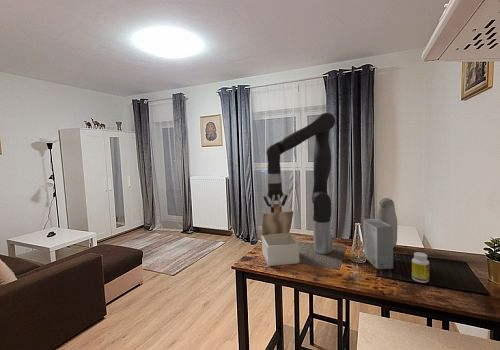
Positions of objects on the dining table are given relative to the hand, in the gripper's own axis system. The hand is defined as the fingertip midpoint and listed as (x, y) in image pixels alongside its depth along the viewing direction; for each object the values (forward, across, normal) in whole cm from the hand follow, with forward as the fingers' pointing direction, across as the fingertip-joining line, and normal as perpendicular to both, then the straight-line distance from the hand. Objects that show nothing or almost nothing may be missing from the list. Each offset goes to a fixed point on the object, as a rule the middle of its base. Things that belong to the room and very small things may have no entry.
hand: (276, 213), depth 142 cm
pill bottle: (+25, -52, +40) cm, 70 cm away
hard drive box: (+24, -45, +20) cm, 55 cm away
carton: (+23, 0, +4) cm, 23 cm away
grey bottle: (+23, -60, +6) cm, 65 cm away
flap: (+6, 0, +1) cm, 6 cm away
